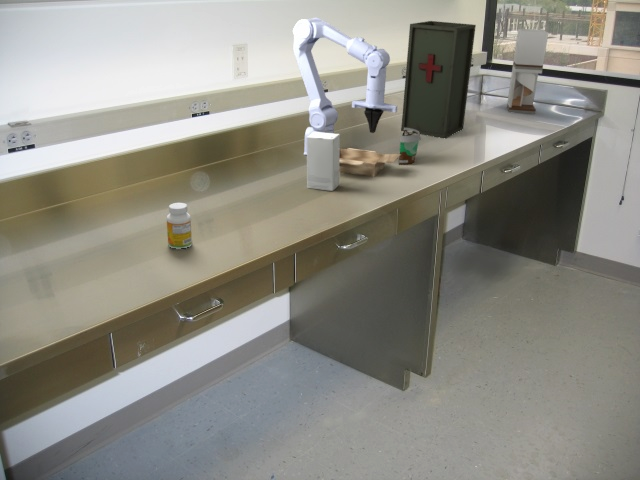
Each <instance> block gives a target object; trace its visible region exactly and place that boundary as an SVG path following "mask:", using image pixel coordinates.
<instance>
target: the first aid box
mask: <svg viewBox="0 0 640 480" xmlns="http://www.w3.org/2000/svg"><path fill="white" fill-rule="evenodd" d="M476 26H477V25H476V24H470V23H461V22H460V23H459V22H457V23H456V22H446V21H438V20H437V21H436V20H435V21H433V20H428V21H421V22H413V23H410V24H409V30H408V31H409V33H408V44H407V57H406V69H405V78H404V79H405V80H404V81H405V82H404V93H403V102H402V103H403V104H402V117H401V130H400V131H401V132H404V128H411V129H415V130H417V131H419V133H420V135H423V136H427V135H428V136H429V137H433V136H434V138H438V137H440V138H441V139H444V138H445V139H447V138H450V137H451V136H453V135H455V134H457V133H459V132H461V131H463V130H464V123H465V117H466V108H467V99H468V92H469V91H468V90H469V84H470V75H471V66H472V58H473V50H474V42H475V34H476ZM462 129H463V130H462ZM460 130H461V131H460ZM458 131H459V132H458ZM456 132H457V133H456ZM454 133H455V134H454ZM452 134H453V135H452Z"/></svg>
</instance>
